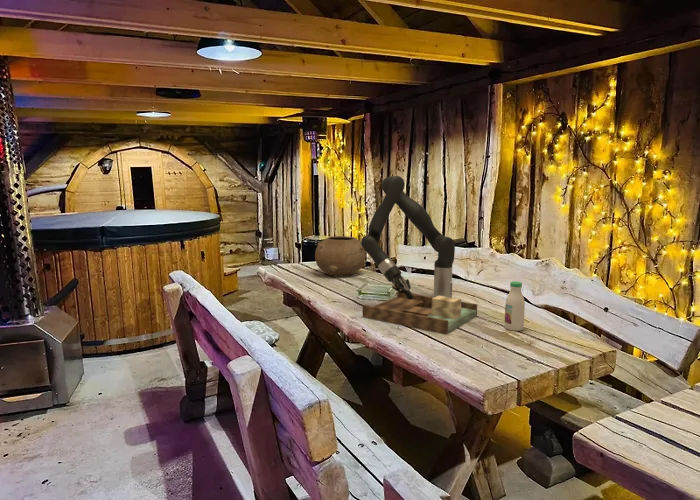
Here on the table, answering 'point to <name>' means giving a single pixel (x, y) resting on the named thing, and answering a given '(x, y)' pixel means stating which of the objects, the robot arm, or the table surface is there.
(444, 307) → the maple block
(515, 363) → the table surface
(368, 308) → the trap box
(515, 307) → the milk bottle
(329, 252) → the ceramic pot
